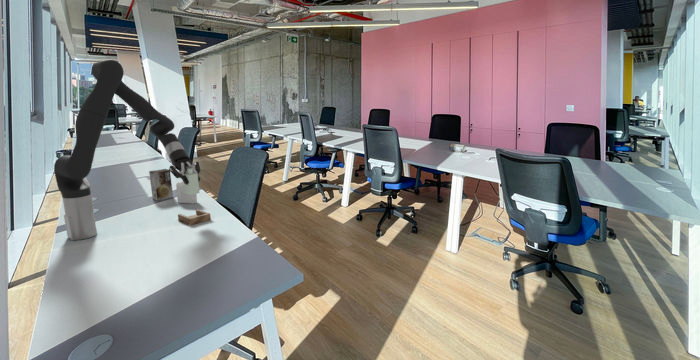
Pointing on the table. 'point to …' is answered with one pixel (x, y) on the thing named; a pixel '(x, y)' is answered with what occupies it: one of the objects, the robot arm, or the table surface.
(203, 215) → the rest
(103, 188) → the table surface
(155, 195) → the coffee box
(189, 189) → the bottle
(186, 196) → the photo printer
